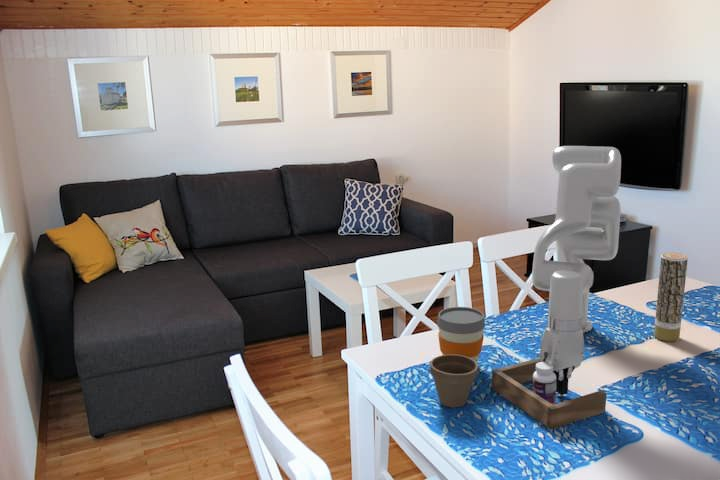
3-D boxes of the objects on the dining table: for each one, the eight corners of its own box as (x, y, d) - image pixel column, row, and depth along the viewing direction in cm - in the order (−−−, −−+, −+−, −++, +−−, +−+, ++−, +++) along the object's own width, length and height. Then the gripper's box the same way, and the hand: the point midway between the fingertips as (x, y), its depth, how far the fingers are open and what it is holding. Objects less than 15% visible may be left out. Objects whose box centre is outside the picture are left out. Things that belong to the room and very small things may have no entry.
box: (491, 388, 166) (492, 370, 165) (541, 374, 173) (542, 356, 172) (551, 429, 147) (552, 409, 146) (605, 412, 154) (606, 392, 152)
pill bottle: (528, 399, 160) (528, 363, 158) (546, 394, 162) (546, 358, 160) (541, 409, 156) (541, 372, 153) (560, 404, 157) (561, 367, 155)
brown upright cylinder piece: (681, 343, 189) (690, 259, 183) (656, 341, 190) (664, 259, 184) (675, 333, 196) (684, 252, 189) (651, 332, 197) (658, 252, 190)
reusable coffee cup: (427, 368, 178) (427, 316, 175) (454, 352, 187) (455, 303, 183) (466, 382, 170) (467, 327, 166) (493, 365, 179) (494, 313, 175)
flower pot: (481, 393, 164) (482, 356, 161) (473, 416, 154) (474, 377, 151) (435, 387, 168) (435, 351, 165) (425, 409, 157) (424, 370, 155)
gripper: (577, 311, 163) (573, 379, 168) (528, 322, 157) (526, 392, 162) (600, 321, 157) (595, 391, 161) (550, 333, 151) (546, 406, 155)
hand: (560, 392), depth 162 cm, fingers closed
